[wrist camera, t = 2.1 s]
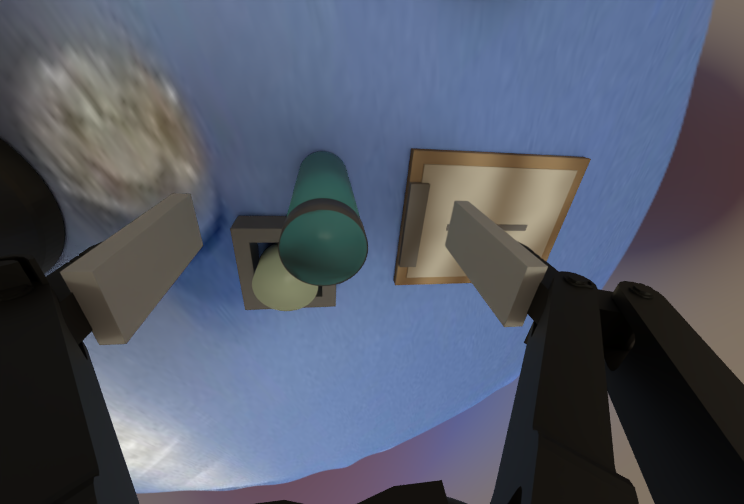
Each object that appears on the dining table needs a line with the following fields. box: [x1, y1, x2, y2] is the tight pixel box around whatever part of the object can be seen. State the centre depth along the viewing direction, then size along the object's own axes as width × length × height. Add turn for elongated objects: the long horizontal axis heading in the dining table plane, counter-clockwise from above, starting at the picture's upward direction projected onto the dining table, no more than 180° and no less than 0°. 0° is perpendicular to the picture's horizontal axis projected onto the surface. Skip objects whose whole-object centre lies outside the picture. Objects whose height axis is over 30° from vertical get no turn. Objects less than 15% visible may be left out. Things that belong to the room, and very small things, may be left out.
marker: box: [278, 151, 368, 286], centre depth 18 cm, size 4×4×13 cm
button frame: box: [230, 216, 336, 310], centre depth 26 cm, size 8×8×2 cm
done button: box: [252, 243, 318, 311], centre depth 24 cm, size 5×5×3 cm
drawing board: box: [394, 148, 591, 285], centre depth 27 cm, size 16×13×1 cm
